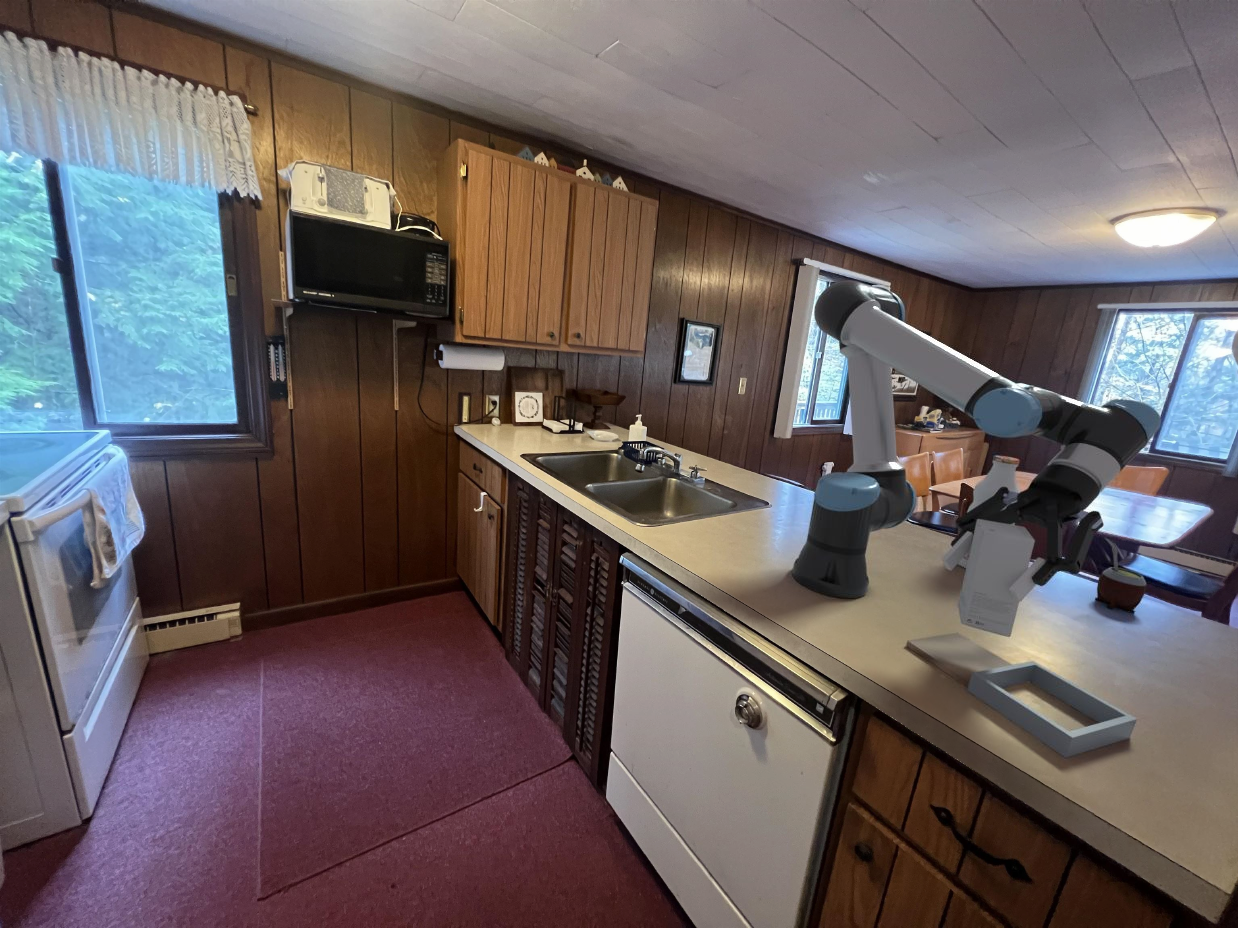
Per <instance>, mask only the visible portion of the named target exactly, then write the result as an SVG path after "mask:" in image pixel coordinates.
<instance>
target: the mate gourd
mask: <svg viewBox="0 0 1238 928" xmlns="http://www.w3.org/2000/svg"><path fill="white" fill-rule="evenodd" d="M1104 540H1106V542H1107V543H1108V544H1109V546H1111V552H1112V554H1113V567H1112V566H1111V567H1108V568H1106V569H1105V570H1103V571H1102V572H1101V574H1100V575H1099V577H1098V580H1097V587H1096V594H1097V596H1095V598H1094V600H1095V601H1097V602H1100V603H1102V604H1104V605H1107V609H1108V610H1110V611H1113V610H1115V609H1119V610H1121V611H1124V612H1128V613H1130V614H1135V612H1136V611H1135V609H1136V608H1137V607H1138V606H1139V604H1140V603H1141V601H1142V600H1143V598H1144V595H1145V594H1146V592H1147V591H1146V590H1147V581H1146V580H1145V578H1144V576H1143V575H1141V574H1140V573H1138V572H1136V571H1132V570H1128V569H1126V568H1122V567H1119V565H1118V564H1119V562H1118V553H1119V551H1118V548H1117V547H1116V545H1115V544H1114V543H1113V542H1112V541H1111V540H1110V539H1108V538H1107V537H1104Z"/></svg>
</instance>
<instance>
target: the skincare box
mask: <svg viewBox="0 0 1238 928" xmlns="http://www.w3.org/2000/svg"><path fill="white" fill-rule="evenodd" d="M1035 543H1036V540H1035V539H1034V537H1033V535H1031V533H1030V531H1029V530H1028V529H1027V528H1026V527H1025V526H1021V525H1011V524H1004V523H998V522H993V521H987V520H982V519H977V522H976V527H975V531H974V536H973V540H972V545H971V549H970V554H969V558H968V563H967V567H966V569H965V572H964V577H963V581H962V587H961V591H960V595H959V599H958V603H957V607H958V615H959V619H960V623H961V624H962V625H964V626H968V627H970V628H975V629H978V630H981V631H984V632H988V633H991V634H995V635H998V636H1003V637H1007V638H1010V637H1011V635H1012V632H1013V629H1014V624H1015V620H1016V616H1017V612H1018V607H1019V603H1020V602H1018V601H1016V600H1014V598H1013V596H1012V594H1011V592H1010V590H1009V588H1010V587H1011V586H1012V585H1013V584H1014V583H1015V582H1016V581H1017V580H1018V579H1019V578H1020V577H1021V575H1022V574H1023V573H1024V572H1025V571H1026V570H1027V569H1028V568H1029V567H1030V566H1029V565H1030V561H1031V558H1032V553H1033V550H1034V546H1035Z"/></svg>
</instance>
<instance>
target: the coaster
mask: <svg viewBox="0 0 1238 928" xmlns="http://www.w3.org/2000/svg"><path fill="white" fill-rule="evenodd" d="M905 646H906V647H908V648H909V649H910V650H912V651H913V652H914V653H916V654H918V655H919V656H921V657H922V658H924V659H925V660H927V661H928V662H929V663H931V664H933V665H934V666H935V667H937V668H939V669H940V670H941V671H943V672H944V673H946V674H947V675H949V676H950V677H952V678H953V679H954V680H955V681H957V682H959V683H961V684H962V685H963V686H965V687H966V688H968V685H969V682H970V678H971V675H972V673H974V672H979V671H984V670H989V669H994V668H999V667H1004V666H1009V665H1013V663H1010V662H1009V661H1007V660H1005V659H1003V658H1002V657H1000V656H999V655H997V654H995V653H994V652H992V651H990V650H988V649H986V648H984V647H983V646H981V645H980V644H978V643H976V642H975V641H973V640H971V639H969V638H967V637H966V636H964V635H962V634H960V633H959V632H955V633H947V634H941V635H935V636H928V637H922V638H916V639H909V640H907V641H906V645H905Z"/></svg>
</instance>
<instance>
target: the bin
mask: <svg viewBox="0 0 1238 928" xmlns="http://www.w3.org/2000/svg"><path fill="white" fill-rule="evenodd" d="M1028 682H1030V683H1032V684H1033V685H1035V686H1037V687H1039V688H1040V689H1042V690H1043V691H1045V692H1046V693H1049V694H1050V695H1051V696H1053V697H1055V698H1057V699H1058V700H1060V701H1061V702H1063V703H1065V704H1067V705H1068V706H1070V707H1072V708H1074V709H1075V710H1077V711H1078V712H1080V713H1082V714H1084V715H1085V716H1087V717H1089V718H1090V719H1092V720H1093V721H1096V722H1097V723H1095V724H1092V725H1089V726H1084V727H1080V728H1076V729H1073V730H1068V729H1066V728H1065V727H1063V726H1061V725H1060V724H1058V723H1056V722H1055V721H1053V720H1052V719H1050V718H1049V717H1047V716H1045V715H1044V714H1042V713H1040V712H1039V711H1038V710H1036V709H1035V708H1033V707H1031V706H1029V705H1028V704H1026V702H1024V701H1022V700H1020V699H1019V698H1017V697H1016V696H1014V695H1012V694H1011V693H1010V692H1008V691H1006V690H1005V689H1003V688H1006V687H1011V686H1016V685H1021V684H1025V683H1028ZM966 690H967V691H968V692H969V693H970V694H972V695H973V696H975V697H976V699H977V698H978V699H979V700H980V701H982V702H983V703H985V704H986V705H988V706H989V707H991V708H992V709H994V710H995V711H996V712H998V713H999V714H1001V716H1004V717H1005V718H1007V719H1008V720H1010V721H1011V722H1013V723H1014V724H1016V725H1017V726H1018V727H1020V728H1022V729H1023V730H1024V731H1025V732H1026V733H1029V734H1030V735H1031V736H1032V737H1034V738H1036V739H1037V740H1039V741H1040V742H1042V743H1043V744H1044V745H1046V746H1048V747H1049V748H1051V749H1052V750H1053V751H1054V752H1056V753H1058V754H1059V755H1060V756H1062V757H1064V758H1065V759H1066V758H1069V757H1072V756H1075V755H1076V756H1077V755H1078V754H1083V753H1086V752H1090V751H1092V750H1096V749H1098V748H1101V747H1102V748H1103V747H1104V746H1109V745H1112V744H1115V743H1118V742H1121V741H1125V740H1128V739H1130V738H1131V737H1132V734H1133V731H1134V729H1135V726H1136V724H1137V720H1138V718H1137V717H1135V716H1133V715H1131V714H1129V713H1127V712H1125V711H1123V710H1122V709H1120V708H1119V707H1116V706H1115V705H1113V704H1111V703H1110V702H1108V701H1105V700H1104V699H1102V698H1100V697H1099V696H1096V695H1095V694H1093V693H1091V692H1090V691H1088V690H1086V689H1084V688H1082V687H1080V685H1077V684H1076V683H1074V682H1072V681H1070V680H1069V679H1067V678H1065V677H1063V676H1061V675H1059V674H1057V673H1056V672H1054V671H1052V670H1050V668H1049V669H1048V668H1046V667H1045V666H1044V665H1043V666H1042V665H1041V664H1039V663H1038V662H1036V661H1035V660H1031V661H1025V662H1020V663H1015V664H1012V665H1009V666H1004V667H999V668H994V669H989V670H984V671H979V672H974V673H972V675H971V678H970V682H969V685H968V687H967V689H966Z"/></svg>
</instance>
